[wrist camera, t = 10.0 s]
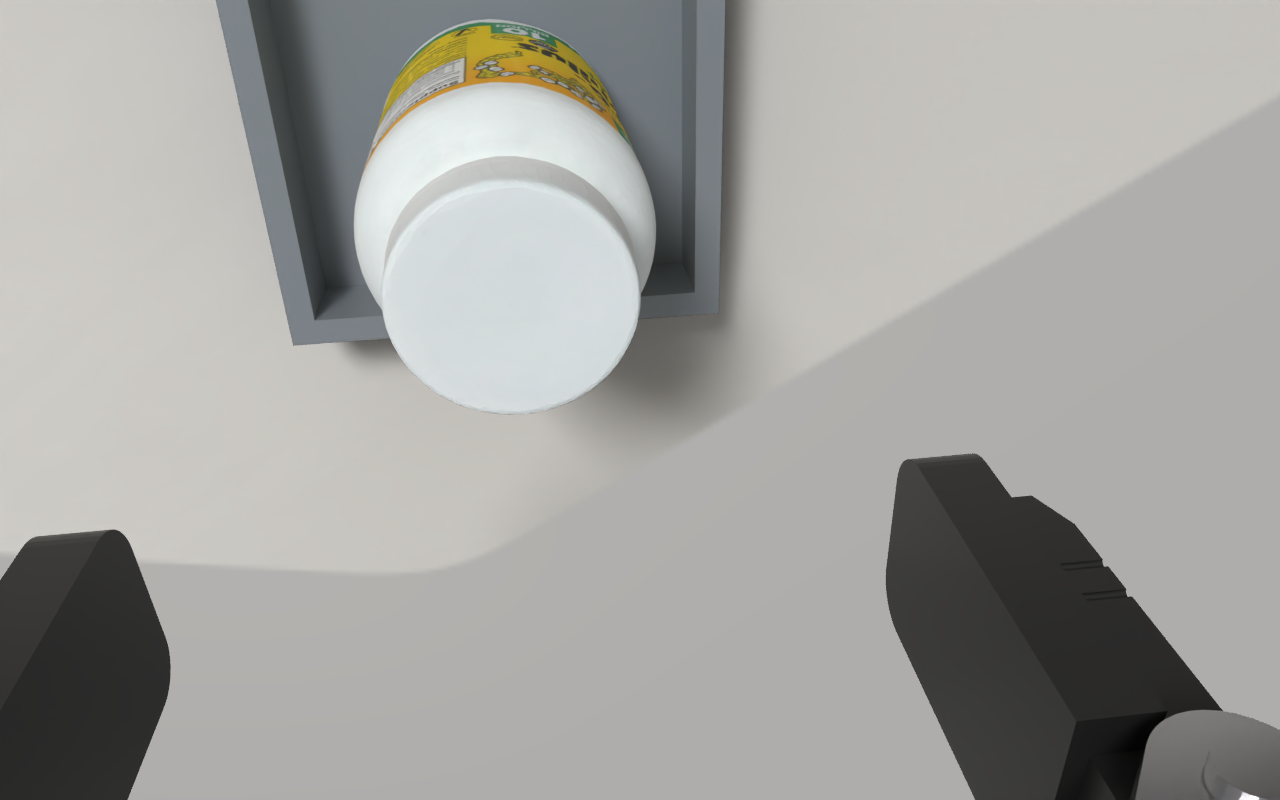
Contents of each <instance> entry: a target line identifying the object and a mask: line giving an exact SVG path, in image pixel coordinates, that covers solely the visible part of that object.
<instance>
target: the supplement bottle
mask: <svg viewBox="0 0 1280 800" xmlns="http://www.w3.org/2000/svg"><path fill="white" fill-rule="evenodd" d="M354 240H355V247H356V252H357V258H358V261H359V264H360V268H361V271H362V274H363V277H364V279H365V281H366V284H367V286H368V288H369V290H370V291H371V293H372V295H373V297H374V299H375V301H376V302H377V303H378V305H379V306H380V308H381V309H382V312H383V318H384V322H385V327H386V329H387V332H388V334H389V337H390V339H391V342H392V344H393V346H394V348H395V350H396V351H397V353H398V355H399V356H400V358H401V359H402V361H403V362H404V364H405V365H406V366H407V367H408V368H409V370H410V371H411V372H412V373H413V374H414V375H415V376H416V377H417V378H418V379H419V380H420V381H421V382H423V383H424V384H425V385H426V386H428V387H429V388H430V389H432V390H433V391H434V392H436V393H437V394H439V395H440V396H442V397H444V398H446V399H448V400H450V401H452V402H454V403H456V404H459V405H461V406H464V407H468V408H471V409H474V410H478V411H482V412H487V413H494V414H508V415H514V414H528V413H535V412H540V411H545V410H549V409H553V408H555V407H558V406H562V405H564V404H566V403H568V402H570V401H573V400H575V399H577V398H579V397H580V396H582V395H584V394H585V393H587V392H588V391H590V390H592V389H593V388H594V387H595V386H597V385H598V384H599V383H600V382H601V381H603V380H604V379H605V378H606V377H607V376H608V375H609V373H610V372H611V371H612V370H613V369H614V368H615V367H616V366H617V365H618V363H619V361H620V360H621V358H622V357H623V355H624V354H625V352H626V350H627V348H628V346H629V345H630V342H631V340H632V338H633V336H634V333H635V330H636V328H637V323H638V318H639V313H640V305H641V293H642V290H643V288H644V286H645V284H646V281H647V278H648V276H649V273H650V270H651V266H652V262H653V257H654V251H655V243H656V219H655V210H654V205H653V200H652V196H651V192H650V189H649V185H648V182H647V179H646V176H645V174H644V172H643V169H642V167H641V165H640V163H639V160H638V158H637V156H636V154H635V151H634V149H633V147H632V145H631V143H630V140H629V138H628V136H627V134H626V132H625V129H624V128H623V126H622V124H621V122H620V120H619V117H618V115H617V113H616V111H615V108H614V106H613V104H612V101H611V99H610V97H609V95H608V92H607V90H606V88H605V86H604V84H603V83H602V81H601V79H600V78H599V76H598V74H597V73H596V72H595V70H594V69H593V68H592V66H591V65H590V64H589V62H588V61H587V60H586V59H585V58H584V57H583V56H582V55H581V54H580V53H579V52H578V51H577V50H576V49H575V48H573V47H572V46H571V45H570V44H569V43H567V42H566V41H564V40H563V39H561V38H559V37H558V36H556V35H554V34H552V33H550V32H548V31H545V30H542V29H540V28H537V27H534V26H530V25H526V24H522V23H518V22H513V21H507V20H497V19H484V20H473V21H469V22H465V23H462V24H459V25H456V26H453V27H451V28H448V29H446V30H444V31H442V32H440V33H439V34H437V35H436V36H434V37H432V38H431V39H430V40H428V41H427V42H425V43H424V44H423V45H422V46H421V47H420V48H418V49H417V50H416V51H415V52H414V54H413V55H412V56H411V57H410V58H409V59H408V61H407V62H406V63H405V65H404V66H403V68H402V69H401V71H400V72H399V74H398V76H397V77H396V79H395V81H394V83H393V86H392V88H391V90H390V92H389V95H388V97H387V99H386V102H385V105H384V109H383V111H382V115H381V118H380V122H379V125H378V129H377V132H376V135H375V137H374V140H373V143H372V146H371V149H370V152H369V155H368V159H367V162H366V164H365V168H364V171H363V174H362V178H361V181H360V185H359V189H358V192H357V198H356V203H355V212H354Z"/></svg>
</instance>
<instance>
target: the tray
mask: <svg viewBox="0 0 1280 800" xmlns="http://www.w3.org/2000/svg"><path fill="white" fill-rule="evenodd" d="M216 3H217V8H218V12H219V17H220V21H221V25H222V30H223V34H224V39H225V43H226V48H227V52H228V57H229V61H230V66H231V70H232V75H233V79H234V83H235V88H236V92H237V97H238V101H239V106H240V110H241V115H242V119H243V124H244V128H245V132H246V137H247V141H248V146H249V150H250V155H251V159H252V164H253V168H254V173H255V177H256V181H257V186H258V190H259V195H260V199H261V204H262V208H263V213H264V217H265V222H266V226H267V230H268V235H269V239H270V244H271V248H272V253H273V257H274V262H275V266H276V271H277V275H278V279H279V284H280V288H281V293H282V297H283V302H284V306H285V311H286V315H287V320H288V324H289V328H290V333H291V337H292V342H293V346H294V345H307V344H320V343H333V342H346V341H360V340H373V339H386V338H390V337H389V334H388V332H387V329H386V327H385V322H384V318H383V312H382V309H381V308H380V306H379V305H378V303H377V302H376V301H375V299H374V297H373V295H372V293H371V291H370V290H369V288H368V286H367V284H366V281H365V279H364V277H363V274H362V271H361V268H360V264H359V261H358V258H357V252H356V247H355V240H354V212H355V203H356V198H357V192H358V189H359V185H360V181H361V178H362V174H363V171H364V168H365V164H366V162H367V159H368V155H369V152H370V149H371V146H372V143H373V140H374V137H375V135H376V132H377V129H378V125H379V122H380V118H381V115H382V111H383V109H384V105H385V102H386V99H387V97H388V95H389V92H390V90H391V88H392V86H393V83H394V81H395V79H396V77H397V76H398V74H399V72H400V71H401V69H402V68H403V66H404V65H405V63H406V62H407V61H408V59H409V58H410V57H411V56H412V55H413V54H414V52H415V51H416V50H417V49H418V48H420V47H421V46H422V45H423V44H424V43H425V42H427V41H428V40H430V39H431V38H432V37H434V36H436V35H437V34H439V33H440V32H442V31H444V30H446V29H448V28H451V27H453V26H456V25H459V24H462V23H465V22H469V21H473V20H484V19H497V20H507V21H513V22H518V23H522V24H526V25H530V26H534V27H537V28H540V29H542V30H545V31H548V32H550V33H552V34H554V35H556V36H558V37H559V38H561V39H563V40H564V41H566V42H567V43H569V44H570V45H571V46H572V47H573V48H575V49H576V50H577V51H578V52H579V53H580V54H581V55H582V56H583V57H584V58H585V59H586V60H587V61H588V62H589V64H590V65H591V66H592V68H593V69H594V70H595V72H596V73H597V74H598V76H599V78H600V79H601V81H602V83H603V84H604V86H605V88H606V90H607V92H608V95H609V97H610V99H611V101H612V104H613V106H614V108H615V111H616V113H617V115H618V117H619V120H620V122H621V124H622V126H623V128H624V129H625V132H626V134H627V136H628V138H629V140H630V143H631V145H632V147H633V149H634V151H635V154H636V156H637V158H638V160H639V163H640V165H641V167H642V169H643V172H644V174H645V176H646V179H647V182H648V185H649V189H650V192H651V196H652V200H653V205H654V210H655V219H656V243H655V251H654V257H653V262H652V266H651V270H650V273H649V276H648V278H647V281H646V284H645V286H644V288H643V290H642V293H641V305H640V313H639V318H638V319H649V318H662V317H675V316H688V315H701V314H715V313H719V274H720V227H721V179H722V131H723V84H724V36H725V0H216Z"/></svg>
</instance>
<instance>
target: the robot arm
mask: <svg viewBox="0 0 1280 800" xmlns="http://www.w3.org/2000/svg"><path fill="white" fill-rule="evenodd" d="M886 591H887V599H888V605H889V610H890V614H891V618H892V621H893V624H894V627H895V629H896V632H897V634H898V636H899V638H900V640H901V642H902V644H903V647H904V649H905V651H906V653H907V655H908V657H909V659H910V662H911V664H912V666H913V668H914V670H915V672H916V674H917V677H918V679H919V681H920V683H921V685H922V687H923V689H924V691H925V694H926V696H927V698H928V700H929V702H930V704H931V706H932V708H933V711H934V713H935V715H936V717H937V719H938V721H939V723H940V725H941V727H942V729H943V732H944V734H945V736H946V738H947V740H948V743H949V745H950V747H951V749H952V751H953V753H954V755H955V757H956V760H957V762H958V764H959V766H960V768H961V770H962V772H963V775H964V777H965V779H966V781H967V783H968V785H969V787H970V789H971V791H972V794H973V796H974V798H975V800H1280V730H1278V729H1276V728H1274V727H1272V726H1270V725H1268V724H1266V723H1263V722H1260V721H1258V720H1255V719H1253V718H1249V717H1246V716H1242V715H1239V714H1235V713H1229V712H1224V711H1223V710H1222V709H1221V708H1220V707H1219V706H1218V704H1217V703H1216V702H1215V701H1214V699H1213V698H1212V697H1211V696H1210V694H1209V693H1208V692H1207V690H1206V689H1205V688H1204V687H1203V685H1202V684H1201V683H1200V682H1199V680H1198V679H1197V678H1196V677H1195V675H1194V674H1193V673H1192V671H1191V670H1190V669H1189V668H1188V667H1187V665H1186V664H1185V663H1184V661H1183V660H1182V659H1181V658H1180V656H1179V655H1178V654H1177V653H1176V651H1175V650H1174V649H1173V648H1172V646H1171V645H1170V644H1169V643H1168V641H1167V640H1166V639H1165V637H1164V636H1163V635H1162V634H1161V632H1160V631H1159V630H1158V629H1157V628H1156V626H1155V625H1154V624H1153V622H1152V621H1151V620H1150V619H1149V617H1148V616H1147V615H1146V614H1145V612H1144V611H1143V610H1142V609H1141V607H1140V606H1139V605H1138V603H1137V602H1136V601H1135V600H1134V599H1133V597H1127V595H1126V588H1125V587H1124V586H1123V585H1122V583H1121V582H1120V581H1119V580H1118V578H1117V577H1116V576H1115V574H1114V573H1113V572H1112V571H1111V569H1110V568H1109V567H1104V566H1103V563H1102V558H1101V557H1100V556H1099V554H1098V553H1097V552H1096V550H1095V549H1094V548H1093V547H1092V546H1091V544H1090V543H1089V542H1088V541H1087V539H1086V538H1085V537H1084V535H1083V534H1082V533H1081V532H1080V530H1079V529H1078V528H1077V527H1076V525H1075V524H1073V523H1072V522H1071V521H1069V520H1067V519H1066V518H1065V517H1063V516H1061V515H1060V514H1058V513H1057V512H1055V511H1054V510H1052V509H1051V508H1049V507H1047V506H1046V505H1045V504H1043V503H1042V502H1040V501H1039V500H1037V499H1036V498H1034V497H1033V496H1023V497H1013V498H1011V496H1010V495H1009V493H1008V492H1007V491H1006V489H1005V488H1004V487H1003V485H1002V484H1001V482H1000V481H999V480H998V478H997V477H996V476H995V474H994V473H993V472H992V470H991V469H990V467H989V466H988V465H987V463H986V462H985V461H984V460H983V458H982V457H980V456H979V455H977V454H964V455H952V456H941V457H930V458H919V459H908V460H905V461H904V462H903V463H902V465H901V467H900V469H899V473H898V478H897V485H896V494H895V502H894V510H893V518H892V526H891V535H890V543H889V552H888V559H887V568H886ZM169 684H170V656H169V649H168V644H167V641H166V638H165V635H164V632H163V630H162V627H161V625H160V622H159V619H158V616H157V614H156V611H155V609H154V606H153V603H152V601H151V598H150V595H149V593H148V590H147V587H146V585H145V582H144V580H143V577H142V574H141V572H140V569H139V566H138V564H137V561H136V558H135V556H134V553H133V550H132V548H131V546H130V543H129V542H128V540H127V538H126V537H125V536H124V535H123V534H122V533H121V532H119V531H118V530H104V531H93V532H82V533H71V534H60V535H49V536H38V537H34V538H32V539H30V540H29V541H28V542H27V543H26V544H25V545H24V546H23V548H22V549H21V550H20V552H19V553H18V555H17V556H16V558H15V559H14V561H13V562H12V564H11V565H10V567H9V568H8V570H7V571H6V573H5V574H4V576H3V577H2V579H1V580H0V800H127V799H128V797H129V794H130V792H131V789H132V787H133V784H134V782H135V779H136V777H137V774H138V771H139V769H140V766H141V764H142V761H143V759H144V756H145V754H146V751H147V749H148V746H149V744H150V741H151V739H152V736H153V733H154V731H155V729H156V726H157V724H158V721H159V718H160V716H161V713H162V711H163V708H164V706H165V702H166V699H167V696H168V690H169Z"/></svg>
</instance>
